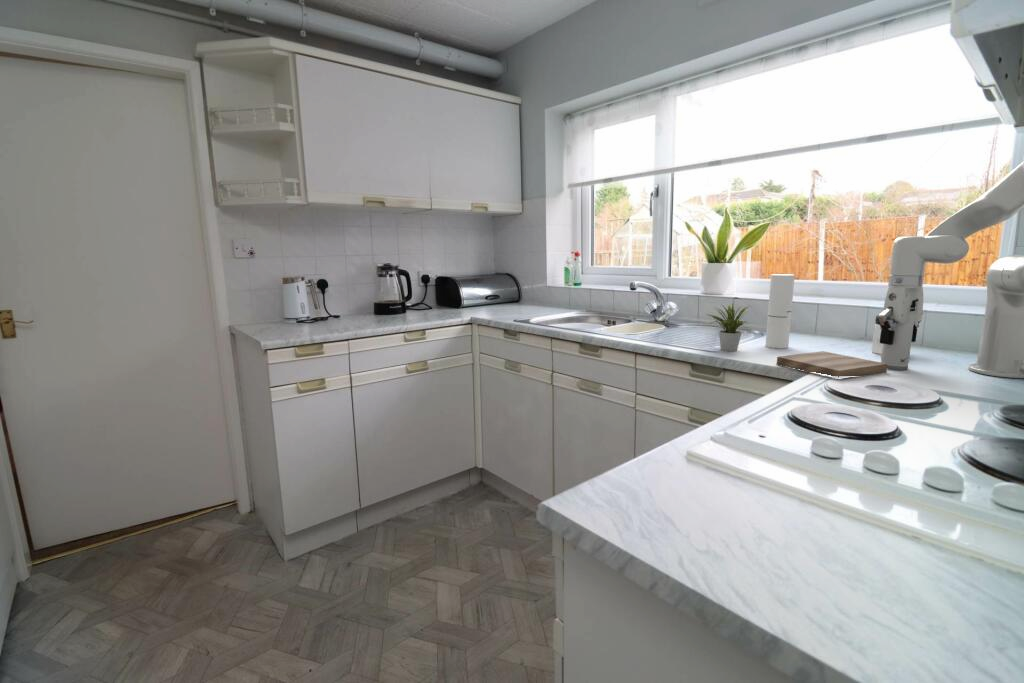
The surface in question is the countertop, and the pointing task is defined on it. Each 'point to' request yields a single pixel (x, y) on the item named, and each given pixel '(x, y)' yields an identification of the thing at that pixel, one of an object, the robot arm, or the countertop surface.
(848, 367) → the walnut board
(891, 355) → the travel mug
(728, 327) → the house plant
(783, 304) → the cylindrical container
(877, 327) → the jar
